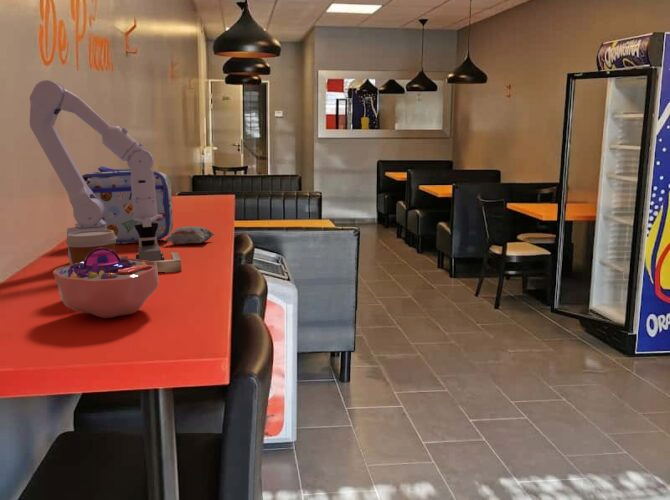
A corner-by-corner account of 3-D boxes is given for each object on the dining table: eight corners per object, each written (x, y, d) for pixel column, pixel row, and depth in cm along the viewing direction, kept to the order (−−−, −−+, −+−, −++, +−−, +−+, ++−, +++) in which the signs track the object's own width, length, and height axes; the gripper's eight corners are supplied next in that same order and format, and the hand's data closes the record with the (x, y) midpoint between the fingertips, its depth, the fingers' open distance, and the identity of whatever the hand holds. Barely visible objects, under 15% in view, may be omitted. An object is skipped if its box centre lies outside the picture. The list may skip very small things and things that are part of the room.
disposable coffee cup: (74, 301, 133) (68, 238, 131) (68, 292, 141) (61, 232, 139) (126, 294, 137) (120, 233, 135) (116, 285, 146) (111, 227, 144)
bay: (121, 276, 155) (120, 265, 155) (121, 267, 166) (120, 256, 166) (181, 271, 159) (180, 260, 158) (178, 262, 170) (177, 252, 169)
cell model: (61, 336, 110) (53, 264, 108) (55, 308, 128) (49, 247, 126) (171, 321, 116) (165, 253, 114) (151, 297, 134) (146, 238, 133)
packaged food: (204, 246, 193) (203, 228, 192) (163, 247, 195) (162, 229, 194) (215, 242, 201) (214, 224, 200) (175, 242, 203) (174, 225, 202)
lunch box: (72, 247, 199) (64, 168, 196) (84, 241, 210) (76, 167, 206) (170, 243, 200) (164, 165, 197) (177, 237, 210) (171, 163, 207)
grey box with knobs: (136, 266, 166) (134, 243, 165) (136, 260, 175) (134, 238, 174) (164, 264, 168) (163, 241, 167) (162, 257, 177) (160, 236, 176)
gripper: (162, 199, 169) (166, 255, 171) (159, 194, 183) (163, 246, 185) (131, 201, 167) (136, 258, 169) (130, 196, 181) (135, 249, 183)
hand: (148, 252), depth 177 cm, fingers closed
